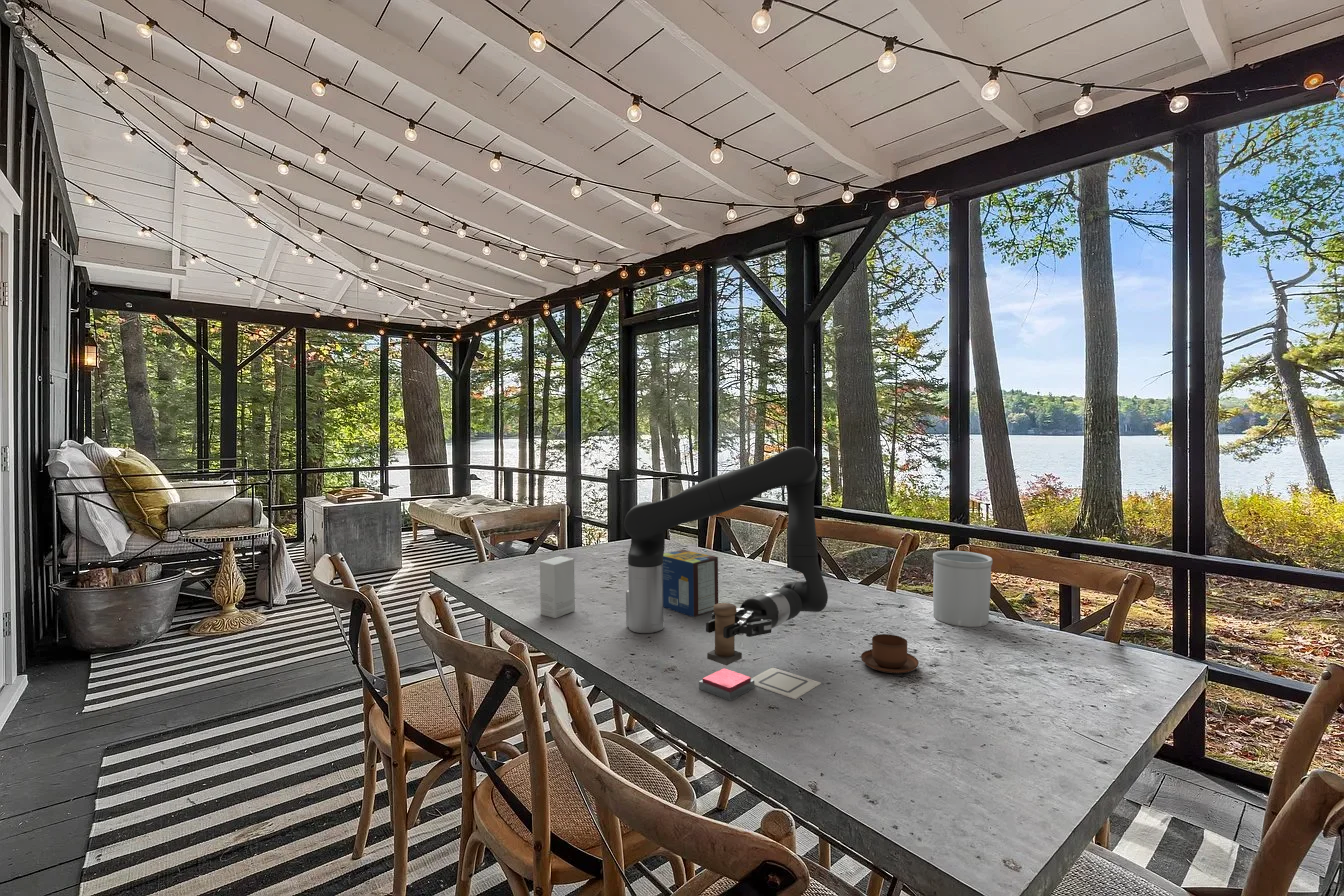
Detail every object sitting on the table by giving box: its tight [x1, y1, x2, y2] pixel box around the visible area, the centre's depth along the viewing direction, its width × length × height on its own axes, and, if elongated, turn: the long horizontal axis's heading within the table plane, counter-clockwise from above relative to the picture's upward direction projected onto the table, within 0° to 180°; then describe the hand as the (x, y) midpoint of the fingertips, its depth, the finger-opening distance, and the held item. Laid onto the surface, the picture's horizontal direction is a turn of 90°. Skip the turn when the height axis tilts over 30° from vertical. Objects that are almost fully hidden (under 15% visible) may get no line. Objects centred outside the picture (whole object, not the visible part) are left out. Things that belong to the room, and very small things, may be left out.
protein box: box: [663, 549, 719, 618], centre depth 181 cm, size 10×15×16 cm
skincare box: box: [539, 555, 576, 619], centre depth 176 cm, size 8×7×16 cm
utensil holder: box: [932, 550, 993, 628], centre depth 168 cm, size 15×15×18 cm
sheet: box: [751, 667, 822, 700], centre depth 128 cm, size 12×10×1 cm
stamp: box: [706, 602, 743, 666], centre depth 125 cm, size 5×5×11 cm
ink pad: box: [698, 668, 755, 702], centre depth 125 cm, size 8×8×2 cm
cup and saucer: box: [860, 633, 919, 674], centre depth 136 cm, size 12×12×6 cm
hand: (716, 630), depth 123 cm, fingers closed on stamp, 4 cm apart
